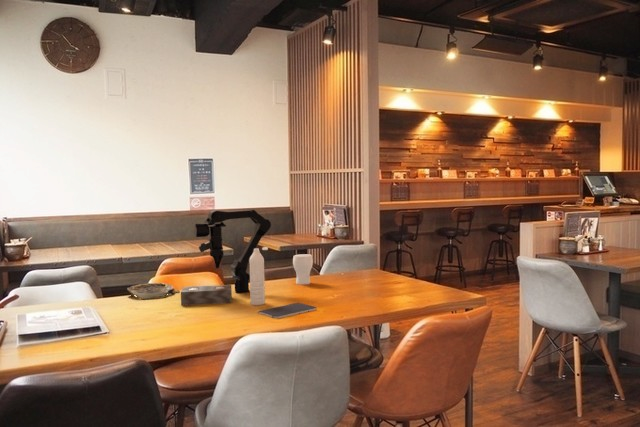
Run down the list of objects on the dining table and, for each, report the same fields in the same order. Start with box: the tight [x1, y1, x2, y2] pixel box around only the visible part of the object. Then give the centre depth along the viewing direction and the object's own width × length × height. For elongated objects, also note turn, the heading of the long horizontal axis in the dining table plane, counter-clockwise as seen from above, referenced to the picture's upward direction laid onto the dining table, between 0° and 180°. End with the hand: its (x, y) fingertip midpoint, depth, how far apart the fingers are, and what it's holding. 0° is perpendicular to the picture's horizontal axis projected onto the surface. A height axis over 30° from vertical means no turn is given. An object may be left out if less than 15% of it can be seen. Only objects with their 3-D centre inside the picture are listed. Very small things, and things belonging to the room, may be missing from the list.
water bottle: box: [248, 246, 269, 306], centre depth 238 cm, size 9×6×25 cm
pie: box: [127, 282, 180, 300], centre depth 264 cm, size 28×27×5 cm
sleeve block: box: [180, 284, 233, 306], centre depth 245 cm, size 22×12×6 cm, turn 98°
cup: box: [292, 253, 314, 286], centre depth 283 cm, size 11×11×15 cm
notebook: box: [258, 302, 317, 320], centre depth 223 cm, size 13×2×21 cm
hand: (217, 268), depth 259 cm, fingers closed
